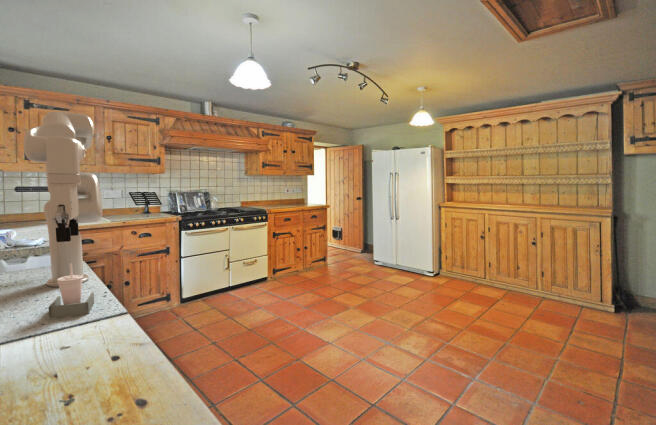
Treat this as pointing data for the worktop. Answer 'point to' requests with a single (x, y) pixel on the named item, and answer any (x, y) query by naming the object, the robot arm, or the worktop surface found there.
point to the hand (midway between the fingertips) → (68, 238)
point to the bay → (70, 308)
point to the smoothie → (70, 287)
